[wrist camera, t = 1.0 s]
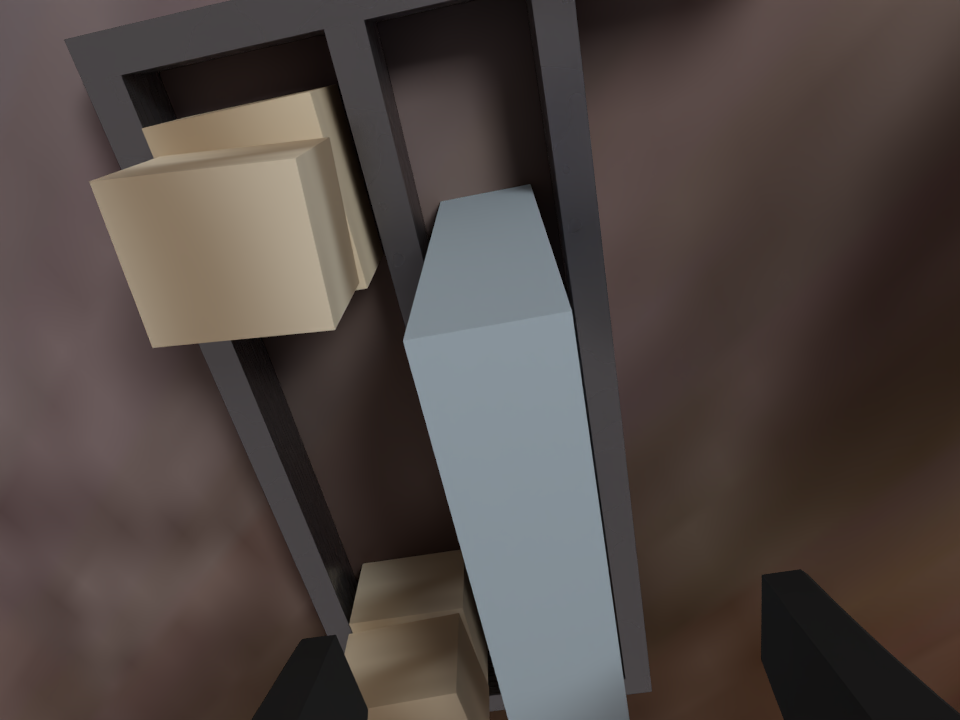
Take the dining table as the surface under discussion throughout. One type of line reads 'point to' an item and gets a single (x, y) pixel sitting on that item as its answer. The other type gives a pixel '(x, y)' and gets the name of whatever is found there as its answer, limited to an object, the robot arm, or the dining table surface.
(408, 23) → the dining table surface
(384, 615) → the birch offcut
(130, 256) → the birch offcut stack
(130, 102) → the rack
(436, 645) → the birch offcut
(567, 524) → the chamfered blue-grey beam
